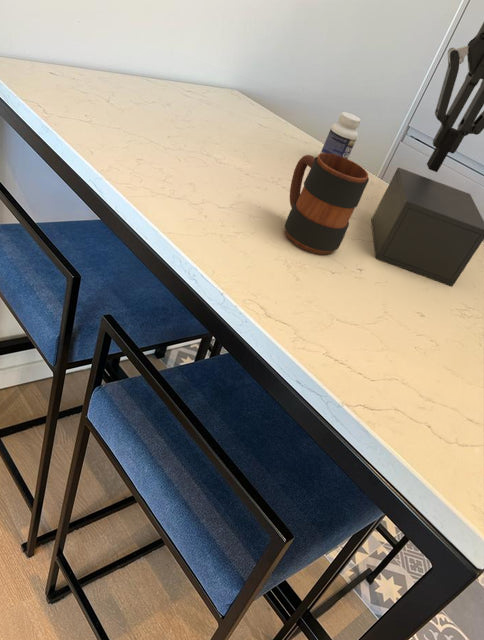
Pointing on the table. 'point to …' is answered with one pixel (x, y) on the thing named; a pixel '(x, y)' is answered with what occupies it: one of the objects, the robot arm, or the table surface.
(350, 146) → the pill bottle
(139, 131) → the table surface
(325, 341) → the table surface
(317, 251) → the mug
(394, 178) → the charcoal bevelled cube
